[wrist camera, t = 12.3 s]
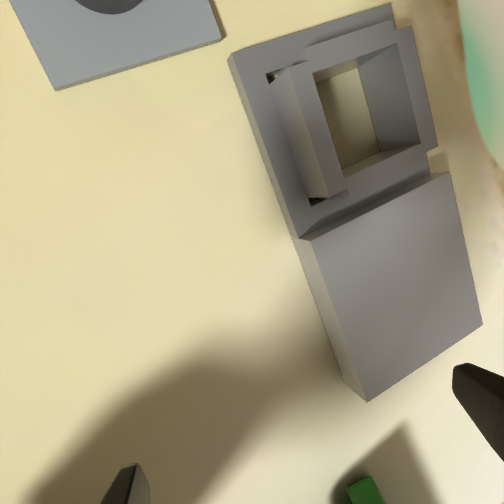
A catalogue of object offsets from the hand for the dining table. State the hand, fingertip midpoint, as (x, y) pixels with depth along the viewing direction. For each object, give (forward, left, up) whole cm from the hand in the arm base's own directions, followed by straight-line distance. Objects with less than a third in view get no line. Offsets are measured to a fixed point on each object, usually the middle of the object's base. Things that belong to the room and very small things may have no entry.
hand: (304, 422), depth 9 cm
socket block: (+12, +1, -12) cm, 17 cm away
